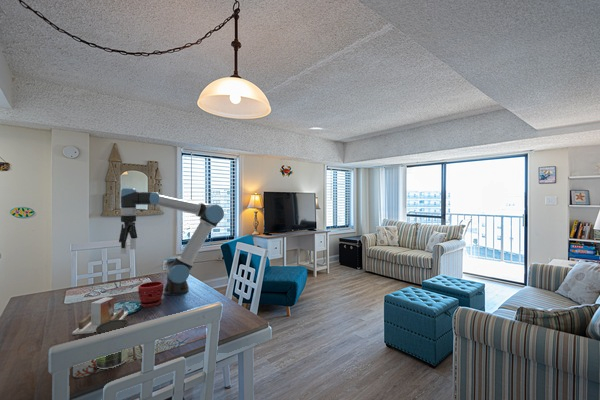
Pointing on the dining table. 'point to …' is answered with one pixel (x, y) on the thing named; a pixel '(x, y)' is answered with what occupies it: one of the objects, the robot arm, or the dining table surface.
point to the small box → (102, 310)
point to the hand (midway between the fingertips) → (128, 251)
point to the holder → (87, 327)
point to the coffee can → (118, 357)
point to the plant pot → (150, 293)
